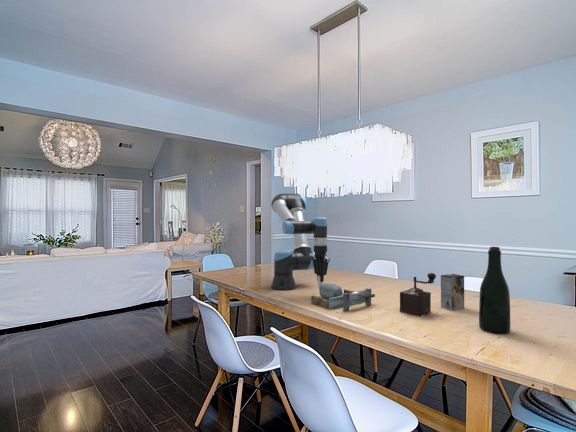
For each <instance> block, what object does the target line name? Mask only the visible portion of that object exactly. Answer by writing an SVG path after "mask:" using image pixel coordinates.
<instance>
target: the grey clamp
mask: <svg viewBox="0 0 576 432" xmlns="http://www.w3.org/2000/svg"><path fill="white" fill-rule="evenodd" d="M375 297H376V294H375V293H372V288H365V289H363V290H359V291H354V292H353V293H344V292H343V306H342V310H343V312H349V311H350V305H349V301H352V300H357V299H361V298H365V301H364V303H365V306H368V307H369V306H371V305H372V298H375Z"/></svg>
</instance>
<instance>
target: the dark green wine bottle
mask: <svg viewBox="0 0 576 432" xmlns="http://www.w3.org/2000/svg"><path fill="white" fill-rule="evenodd" d="M487 255H488V257H487V258H488V261H487V269H486V272H485V275H484V277H483V278H482V281H481V284H480V288H479V300H478V301H479V305H478V306H479V307H478V309H479V310H478V326H479V328H480V330H483V331H484V332H488V333H491V334H497V335H506V334H509V333H510V332H511V295H510V289H509V285H508V283H507V280H506V278H505V275H504V273H503V268H502V250H501V249H500V247H499V246H489V249H488V251H487Z"/></svg>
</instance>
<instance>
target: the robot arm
mask: <svg viewBox="0 0 576 432" xmlns="http://www.w3.org/2000/svg"><path fill="white" fill-rule="evenodd" d="M307 203H308V202H307V199H306V196H305V195H304V194H302V193H278V194H276V195H275V196H274V197H273V198H272V200H271V209H272V210H273V212H275V213H276V214H277V216H278V217H279V220H281V223H282V226H281V227H282V228H281V229H282V232H283V234H284V235H292V236H293V240H294V246H295V247H294V248H293V249H281V250H278V251H276V252H275V253H274V257H273V261H274V263H273V266H274V267H273V269H274V270H273V273H274V274H273V278H272V281H271V286H270V287H271V289H272V290H277V291H291V290H294V289H296V282H295V278H294V275H293V274H294V272H293V271H307V270H313V272H314V273H313V274H315V275H316V276H317V277H316V280H317V288H318V289H319V287H320V285H322V284H324V279H325V277H324V276H326V275H327V273H328V267H329V262H330V261H331V260H330V258H328V257H327V252H328V246H327V245H328V220H327V218H326V217H314V218H313V220H305V219H304V213H305V210H306V209H307V207H308V205H307ZM311 234H312V235H313V250H312V247H311V246H310V245H309V242H308V236H307V235H311Z"/></svg>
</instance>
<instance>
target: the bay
mask: <svg viewBox="0 0 576 432" xmlns="http://www.w3.org/2000/svg"><path fill="white" fill-rule="evenodd" d="M353 292H355V291H354V290H349V289H345V288H344V290H343V294H344V293H353ZM310 298H311V304H313V305H317V306H319V307H323V308H325V309H329V310H333V309H337V308H343V296H338V297H333V298H329V299H325V298H323V297H320V296H316V295H311V297H310ZM363 302H365V298H361V299H357V300H352V301H349V306H350V305H354V304H359V303H363Z"/></svg>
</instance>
